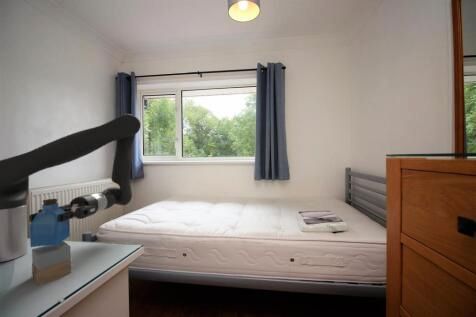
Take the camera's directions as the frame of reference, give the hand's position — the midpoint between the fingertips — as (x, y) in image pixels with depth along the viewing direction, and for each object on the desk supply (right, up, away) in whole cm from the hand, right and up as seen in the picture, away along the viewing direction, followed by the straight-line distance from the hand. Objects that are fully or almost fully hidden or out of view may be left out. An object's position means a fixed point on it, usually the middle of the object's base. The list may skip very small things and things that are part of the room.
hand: (44, 218), depth 58 cm
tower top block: (0, -13, +2) cm, 13 cm away
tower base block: (0, -17, +2) cm, 17 cm away
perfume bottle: (0, -7, +2) cm, 8 cm away
